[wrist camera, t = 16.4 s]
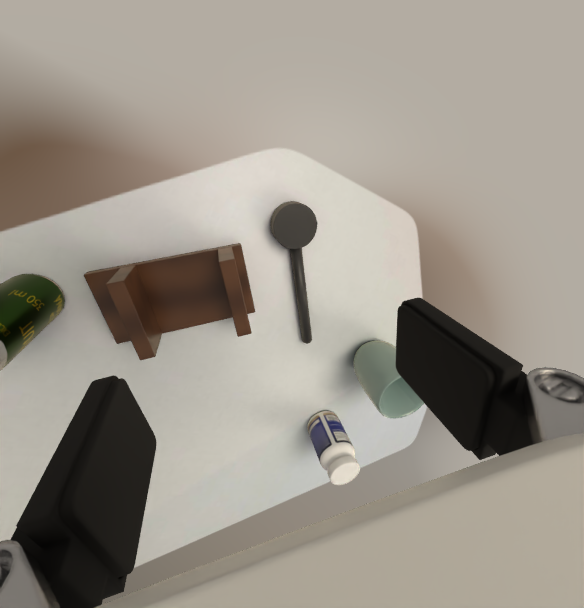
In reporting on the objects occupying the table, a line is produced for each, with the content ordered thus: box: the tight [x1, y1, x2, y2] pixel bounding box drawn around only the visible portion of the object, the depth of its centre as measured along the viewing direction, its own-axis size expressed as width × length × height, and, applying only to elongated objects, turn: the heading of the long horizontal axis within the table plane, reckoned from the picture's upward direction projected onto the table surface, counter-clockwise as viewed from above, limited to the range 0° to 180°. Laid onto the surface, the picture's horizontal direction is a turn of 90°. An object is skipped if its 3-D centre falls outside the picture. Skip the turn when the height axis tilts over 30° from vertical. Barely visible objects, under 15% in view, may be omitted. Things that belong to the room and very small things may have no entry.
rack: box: [84, 243, 255, 360], centre depth 33 cm, size 9×17×6 cm, turn 97°
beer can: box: [0, 274, 65, 371], centre depth 27 cm, size 5×5×12 cm
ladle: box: [270, 201, 317, 344], centre depth 38 cm, size 5×20×2 cm, turn 7°
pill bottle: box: [307, 411, 360, 485], centre depth 47 cm, size 6×6×10 cm
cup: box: [354, 340, 424, 418], centre depth 43 cm, size 8×8×10 cm
